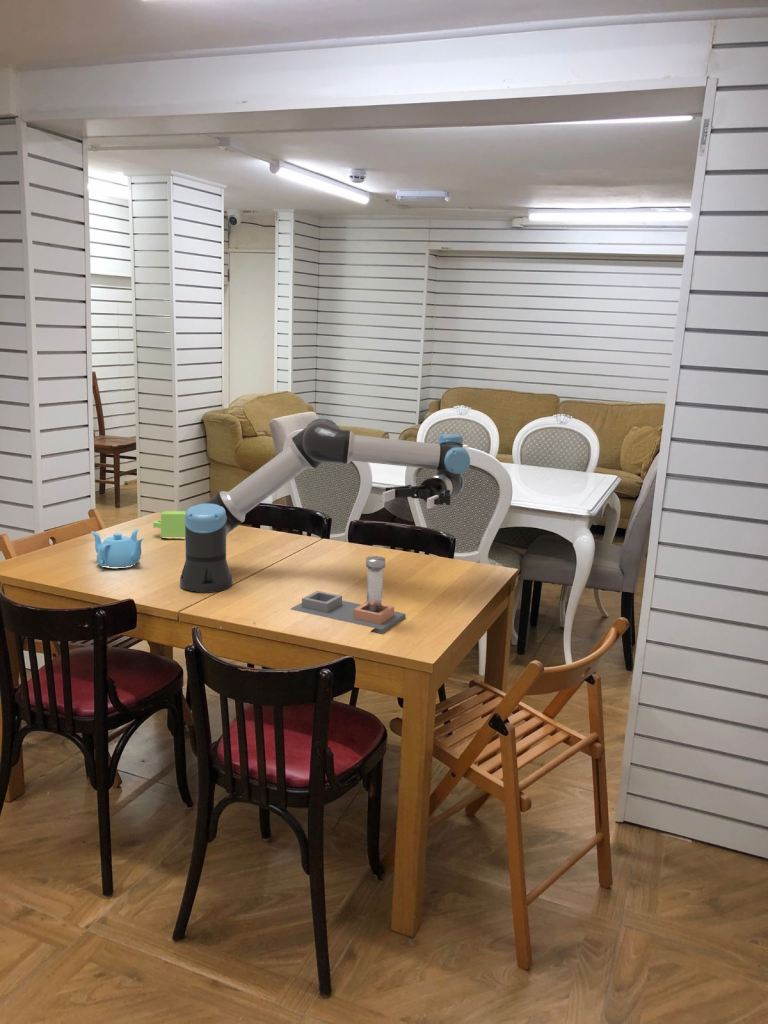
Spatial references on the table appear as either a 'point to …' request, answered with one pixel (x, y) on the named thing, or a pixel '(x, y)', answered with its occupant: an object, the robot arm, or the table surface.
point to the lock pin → (374, 583)
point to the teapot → (118, 550)
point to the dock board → (349, 611)
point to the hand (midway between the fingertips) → (405, 500)
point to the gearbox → (171, 524)
